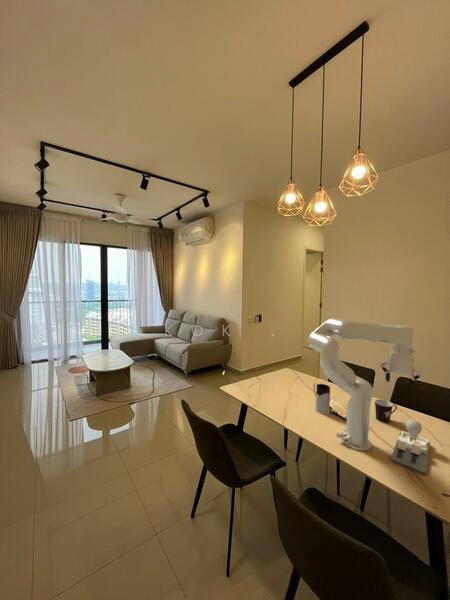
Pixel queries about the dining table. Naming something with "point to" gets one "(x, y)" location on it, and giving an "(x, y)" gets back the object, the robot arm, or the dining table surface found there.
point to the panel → (411, 459)
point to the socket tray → (423, 441)
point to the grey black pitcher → (322, 398)
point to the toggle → (402, 443)
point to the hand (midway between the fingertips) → (399, 384)
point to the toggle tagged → (415, 447)
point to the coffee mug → (383, 410)
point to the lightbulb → (413, 429)
